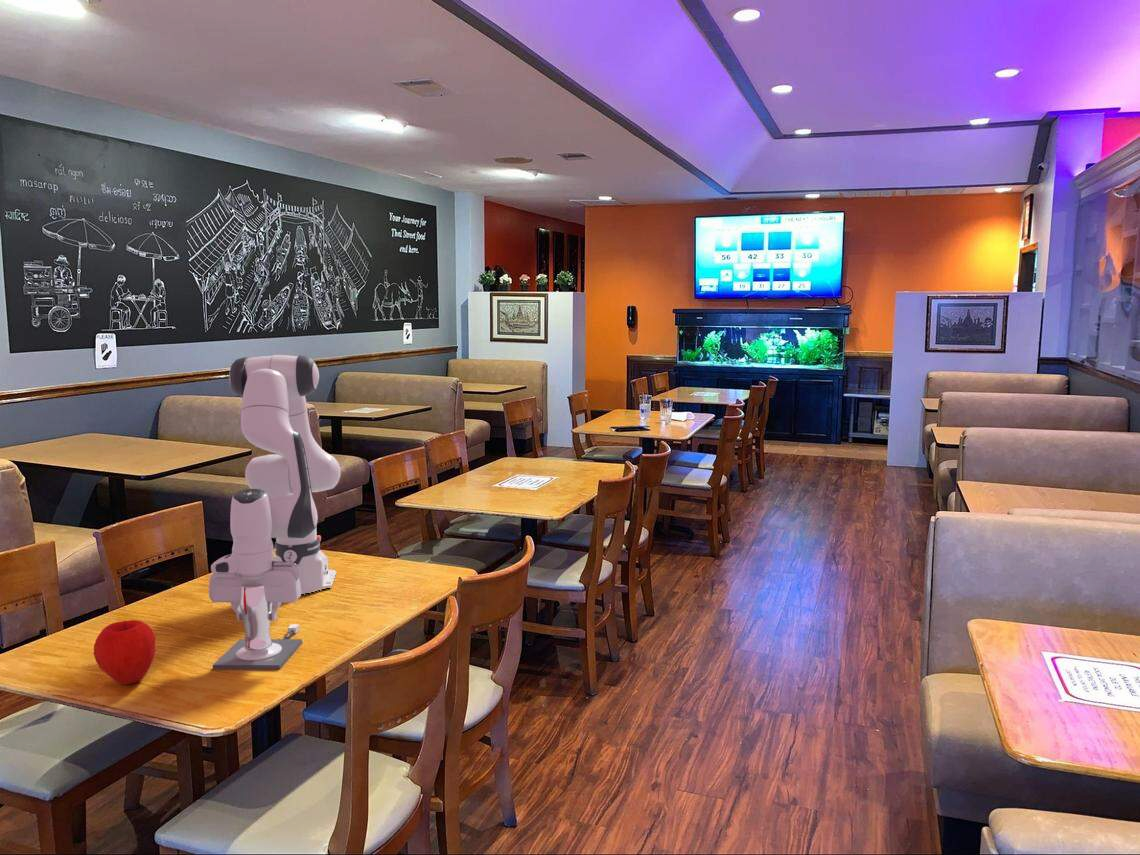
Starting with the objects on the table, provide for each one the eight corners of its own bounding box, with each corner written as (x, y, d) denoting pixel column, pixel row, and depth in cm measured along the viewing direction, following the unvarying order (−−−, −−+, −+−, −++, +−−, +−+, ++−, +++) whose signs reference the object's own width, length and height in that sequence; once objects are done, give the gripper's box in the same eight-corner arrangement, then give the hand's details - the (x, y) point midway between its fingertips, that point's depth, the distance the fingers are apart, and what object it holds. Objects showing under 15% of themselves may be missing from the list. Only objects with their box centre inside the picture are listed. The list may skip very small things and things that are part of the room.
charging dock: (253, 630, 212) (253, 624, 212) (313, 630, 212) (313, 624, 211) (212, 669, 189) (212, 662, 189) (279, 669, 189) (279, 662, 188)
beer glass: (240, 653, 191) (237, 588, 190) (243, 642, 198) (240, 580, 196) (273, 650, 193) (270, 585, 192) (275, 639, 200) (272, 577, 198)
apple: (83, 691, 178) (78, 630, 176) (122, 668, 190) (118, 611, 188) (134, 696, 176) (129, 634, 174) (170, 672, 188) (166, 614, 186)
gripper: (303, 557, 196) (306, 614, 198) (215, 557, 197) (219, 614, 198) (294, 565, 190) (297, 624, 192) (203, 565, 190) (207, 624, 192)
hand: (257, 619), depth 195 cm, fingers closed on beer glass, 6 cm apart
